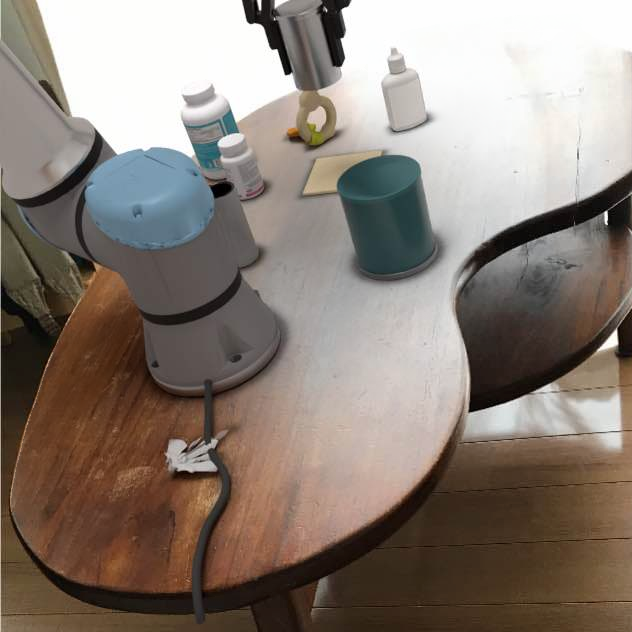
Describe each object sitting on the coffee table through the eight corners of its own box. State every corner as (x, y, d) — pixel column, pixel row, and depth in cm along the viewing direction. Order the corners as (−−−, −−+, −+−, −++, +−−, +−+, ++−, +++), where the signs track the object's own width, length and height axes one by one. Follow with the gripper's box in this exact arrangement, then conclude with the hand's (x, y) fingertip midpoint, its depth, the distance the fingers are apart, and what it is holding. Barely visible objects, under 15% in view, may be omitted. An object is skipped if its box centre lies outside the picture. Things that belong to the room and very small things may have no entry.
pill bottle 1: (229, 153, 139) (201, 72, 131) (259, 161, 135) (231, 78, 126) (194, 176, 136) (162, 95, 128) (223, 185, 131) (192, 102, 123)
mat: (371, 188, 121) (370, 185, 120) (303, 196, 123) (302, 193, 123) (382, 152, 128) (381, 150, 128) (317, 160, 131) (316, 158, 130)
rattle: (327, 120, 141) (308, 51, 133) (347, 136, 134) (329, 65, 127) (285, 137, 139) (264, 68, 132) (303, 155, 133) (282, 83, 126)
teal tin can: (433, 276, 102) (415, 194, 95) (350, 283, 104) (327, 204, 97) (441, 228, 109) (426, 149, 102) (364, 236, 112) (344, 159, 105)
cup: (338, 87, 113) (318, 11, 107) (289, 95, 115) (266, 20, 109) (347, 65, 118) (329, -9, 112) (300, 73, 120) (279, 0, 114)
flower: (208, 424, 92) (202, 404, 91) (255, 454, 87) (250, 433, 86) (148, 461, 88) (141, 440, 87) (194, 495, 83) (188, 473, 82)
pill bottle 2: (267, 181, 129) (250, 129, 124) (261, 198, 126) (243, 145, 120) (237, 186, 130) (218, 134, 125) (230, 202, 127) (211, 150, 121)
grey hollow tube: (253, 267, 112) (227, 198, 105) (221, 269, 113) (194, 201, 107) (263, 247, 115) (238, 178, 109) (231, 249, 117) (206, 182, 110)
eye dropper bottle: (425, 128, 131) (410, 50, 123) (389, 133, 132) (371, 56, 125) (428, 114, 134) (414, 38, 126) (393, 119, 135) (376, 44, 128)
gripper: (349, -151, 101) (390, 43, 116) (197, -116, 106) (254, 65, 121) (337, -134, 96) (381, 67, 110) (177, -98, 101) (239, 90, 115)
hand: (315, 66), depth 116 cm, fingers closed on cup, 6 cm apart
